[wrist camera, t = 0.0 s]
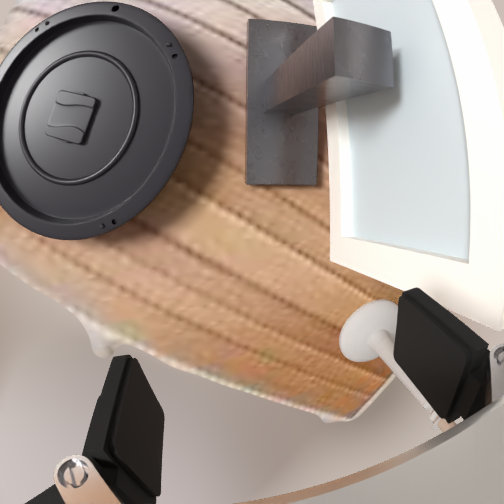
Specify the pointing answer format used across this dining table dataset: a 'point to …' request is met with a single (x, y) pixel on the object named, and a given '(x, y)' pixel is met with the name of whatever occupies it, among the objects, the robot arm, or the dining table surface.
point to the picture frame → (425, 156)
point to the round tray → (91, 119)
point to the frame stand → (304, 89)
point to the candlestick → (380, 345)
